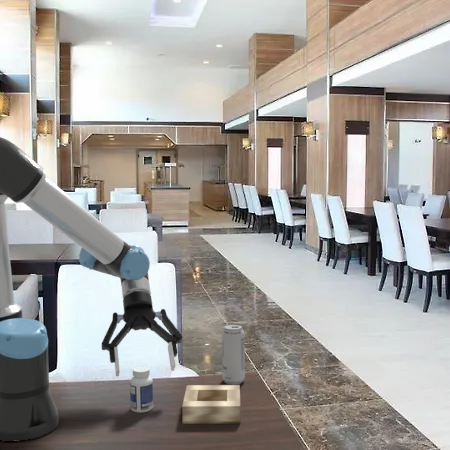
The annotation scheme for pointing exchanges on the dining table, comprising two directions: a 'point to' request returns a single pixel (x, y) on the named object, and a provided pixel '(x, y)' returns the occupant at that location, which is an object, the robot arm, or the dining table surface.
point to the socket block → (211, 404)
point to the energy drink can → (233, 354)
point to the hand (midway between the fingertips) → (145, 371)
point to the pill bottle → (141, 390)
